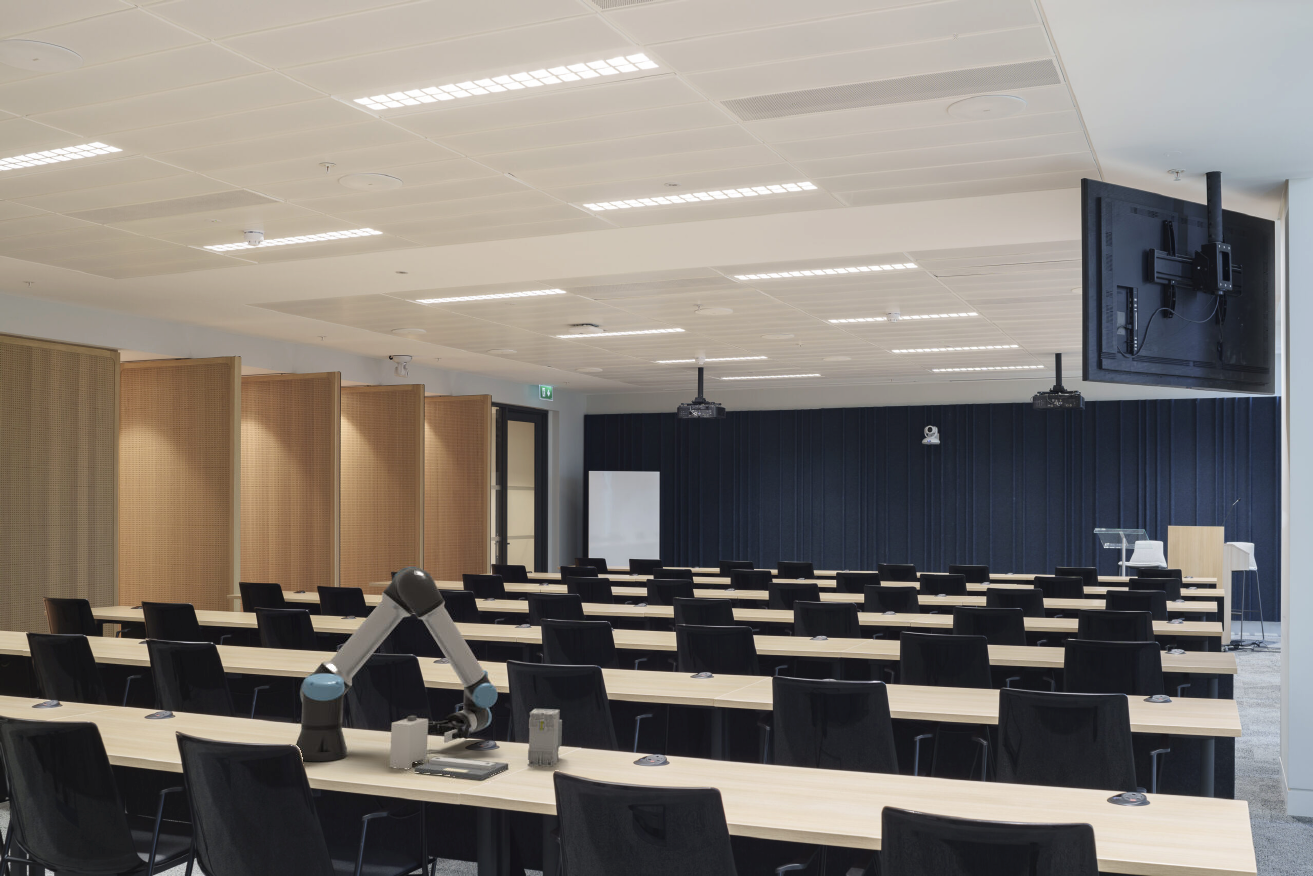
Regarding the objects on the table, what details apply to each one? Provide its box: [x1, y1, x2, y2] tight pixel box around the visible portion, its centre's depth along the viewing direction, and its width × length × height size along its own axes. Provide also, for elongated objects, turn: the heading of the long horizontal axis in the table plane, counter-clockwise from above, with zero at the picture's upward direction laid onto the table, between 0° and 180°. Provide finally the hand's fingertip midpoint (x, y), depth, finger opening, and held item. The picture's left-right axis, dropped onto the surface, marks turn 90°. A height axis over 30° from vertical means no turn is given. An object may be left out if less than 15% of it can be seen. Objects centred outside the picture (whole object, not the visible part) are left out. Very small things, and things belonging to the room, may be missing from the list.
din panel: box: [414, 756, 509, 781], centre depth 310 cm, size 21×16×3 cm
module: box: [389, 715, 429, 770], centre depth 317 cm, size 6×10×14 cm, turn 161°
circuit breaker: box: [527, 708, 563, 767], centre depth 327 cm, size 8×14×15 cm, turn 174°
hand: (424, 736), depth 324 cm, fingers open, 13 cm apart
